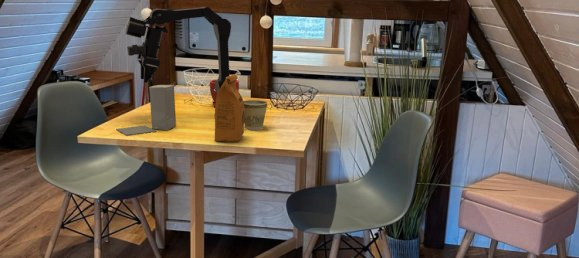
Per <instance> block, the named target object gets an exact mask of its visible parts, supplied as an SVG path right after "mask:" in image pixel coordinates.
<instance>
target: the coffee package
mask: <svg viewBox="0 0 579 258" xmlns="http://www.w3.org/2000/svg"><path fill="white" fill-rule="evenodd" d="M238 79H239V78H238V76H237V74H235V73H234V74H230V76H228V77H226V79H225V82H224V83H223V85H222V86H221V88H220V89H219V91H218V94H217V97H216V104H215V106H214V141H215V142H237V141H238V142H239V141H240V139H241V138H242V137H243V135H244V133H245V124H244V103H243V101H244V100H243V96H242V95H241V93H240V90H239V91H238V90H237V88H236V85H235V82H234V81H235V80H238Z"/></svg>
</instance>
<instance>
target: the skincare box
mask: <svg viewBox="0 0 579 258" xmlns="http://www.w3.org/2000/svg"><path fill="white" fill-rule="evenodd" d="M148 89H149V102H150V103H149V104H150V118H151V129H154V130H163V131H169V130H171V129H173V128H174V127H176V126H177V122H176V121H177V120H176V100H175V85H174V84H157V85H152V86H149V87H148Z"/></svg>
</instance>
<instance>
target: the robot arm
mask: <svg viewBox="0 0 579 258" xmlns="http://www.w3.org/2000/svg"><path fill="white" fill-rule="evenodd" d="M196 18H204V19H206V21H207V22H208V23H209V24H211V25H212V28H213V32H214V36H215V39H216V41H217V58H218V60H217V61H218V78H217V79H218V80H217V79H213V80H214V81H215V90H216V91H217V93H218V91H219V89H220V88H221V86H222V85H223V83H224V82H225V79H226V77H228V76H231V74H230V55H229V54H230V53H229V52H230V51H229V50H230V49H229V39H230V36H231V33H232V32H231V31H232V23H231V22H230V20H228V19H227V18H223V17H222V16H221V15H219V14H217V13H216V12H215V11H214V10H212V9H211V8H210V7H209V6H201V7H195V8H193V7H192V8H183V9H165V8H163V9H162V8H154V9H152V10H151V11H150V13H149V16H148V17H146V18H145V19H144V20H141V19H137V18H135V17H133V16H132V17H131V16H130V17H129V19H128V22H127V24H126V27H125V35H127V36H130V37H133V38H139V39H141V38H142V37H145V38H144V41H143V42H142V43H141V45H138V44H132V45H131V46H130V45H129V46H127V47H126V48H127V55H128V56H130V57H131V56H135V55H136V59H137V61H138V63H139V64H140V79H141V80H143V83H148V81H150V79H151V77H153V75H154V74H155V72H156V71H157V70H158V69H159V68H160V66H161V60H160V59H159V56H158V54H159V50H160V49H161V41H162V37H163V33H169V30H168V29H167V27H166V25H163V24H168V23H171V22H173V21H177V20H186V19H187V20H188V19H196ZM148 25H149V26H148ZM151 25H153V26H151ZM159 25H162V26H159ZM215 90H214V91H215Z"/></svg>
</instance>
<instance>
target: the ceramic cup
mask: <svg viewBox="0 0 579 258" xmlns="http://www.w3.org/2000/svg"><path fill="white" fill-rule="evenodd" d="M243 103H244V129H246V130H250V131H259V130H262V129H263V127H264V122H265V117H266V113H267V109H268V108H267V107H268V101H266V100H262V99H261V100H260V99H244V100H243Z"/></svg>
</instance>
